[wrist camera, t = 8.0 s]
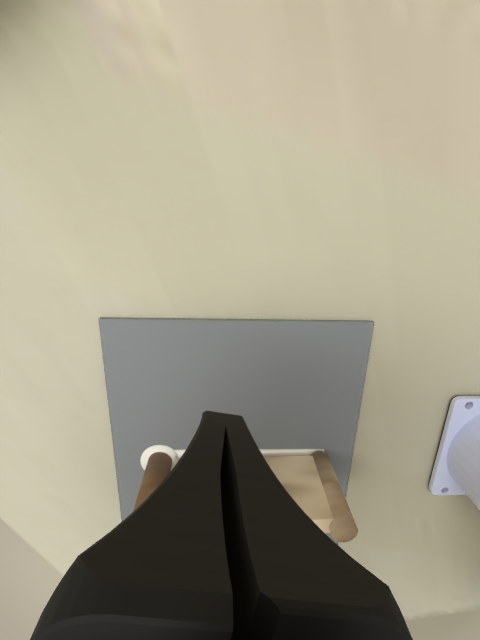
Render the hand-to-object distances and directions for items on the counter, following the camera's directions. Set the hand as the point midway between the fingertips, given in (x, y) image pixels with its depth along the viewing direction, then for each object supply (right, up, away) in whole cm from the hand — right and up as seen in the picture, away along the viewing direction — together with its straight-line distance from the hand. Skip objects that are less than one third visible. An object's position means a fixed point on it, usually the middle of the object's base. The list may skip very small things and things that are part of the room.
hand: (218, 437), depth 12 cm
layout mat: (0, -5, +12) cm, 13 cm away
